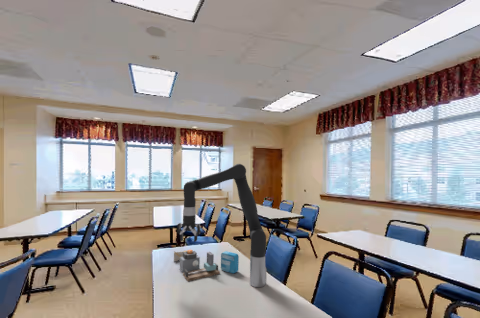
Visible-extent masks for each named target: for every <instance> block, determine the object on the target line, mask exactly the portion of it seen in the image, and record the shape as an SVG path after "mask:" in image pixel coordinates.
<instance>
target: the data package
mask: <svg viewBox="0 0 480 318" xmlns="http://www.w3.org/2000/svg"><path fill="white" fill-rule="evenodd" d="M239 257H240V256H239V254H238V253H237V252H231V251H228V250H225V251H223V252H222V253H221V254H220V270H221V271H224V272H227V273H230V274H235V273H238V272H239V263H240V262H239Z"/></svg>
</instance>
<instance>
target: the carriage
mask: <svg viewBox="0 0 480 318" xmlns="http://www.w3.org/2000/svg"><path fill="white" fill-rule="evenodd" d="M214 260H215V259H214V253H212V252H211V251H207V252H206V262H203V268H205V269H206V270H207V271H211V270H216V264H217V263H216V264H214V263H215V262H214Z"/></svg>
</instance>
